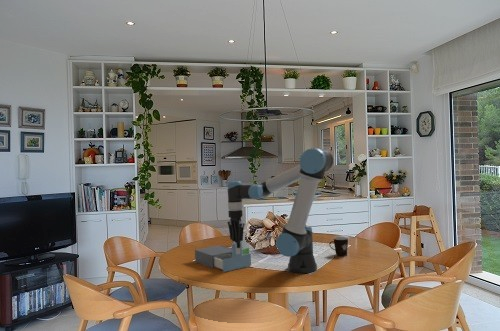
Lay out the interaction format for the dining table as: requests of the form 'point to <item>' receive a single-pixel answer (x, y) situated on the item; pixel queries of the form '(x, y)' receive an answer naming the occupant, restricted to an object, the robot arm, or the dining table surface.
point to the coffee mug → (340, 246)
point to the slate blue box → (210, 254)
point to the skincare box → (245, 244)
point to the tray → (232, 260)
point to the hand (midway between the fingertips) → (236, 253)
